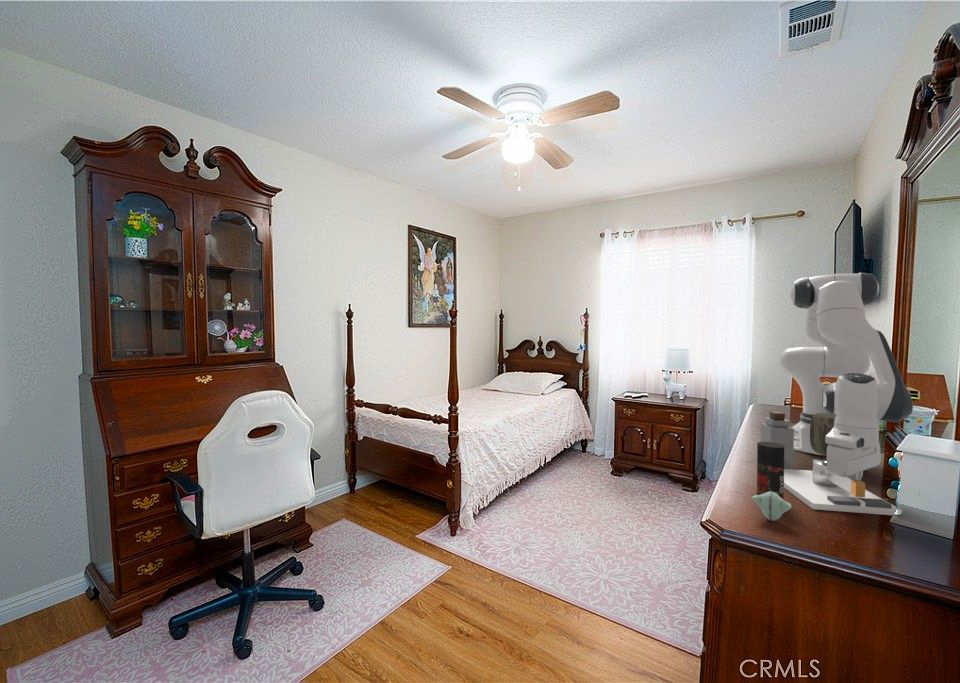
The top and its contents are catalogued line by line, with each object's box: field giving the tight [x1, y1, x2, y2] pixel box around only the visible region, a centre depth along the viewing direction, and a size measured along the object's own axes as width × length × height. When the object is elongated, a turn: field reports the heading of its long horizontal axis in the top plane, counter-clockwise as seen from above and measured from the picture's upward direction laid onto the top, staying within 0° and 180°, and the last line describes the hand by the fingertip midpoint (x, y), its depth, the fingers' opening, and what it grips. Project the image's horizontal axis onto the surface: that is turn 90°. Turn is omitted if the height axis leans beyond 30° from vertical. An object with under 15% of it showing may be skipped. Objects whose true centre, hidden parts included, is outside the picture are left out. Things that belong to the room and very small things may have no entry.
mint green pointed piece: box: [751, 492, 792, 522], centre depth 100 cm, size 8×4×7 cm, turn 47°
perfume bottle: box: [760, 411, 795, 470], centre depth 139 cm, size 7×7×18 cm
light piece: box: [812, 459, 866, 497], centre depth 114 cm, size 20×6×6 cm, turn 168°
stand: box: [784, 469, 897, 516], centre depth 118 cm, size 28×19×3 cm
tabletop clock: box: [810, 412, 868, 473], centre depth 137 cm, size 14×9×25 cm, turn 17°
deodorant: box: [756, 441, 785, 501], centre depth 111 cm, size 6×6×15 cm
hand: (854, 486), depth 111 cm, fingers closed
